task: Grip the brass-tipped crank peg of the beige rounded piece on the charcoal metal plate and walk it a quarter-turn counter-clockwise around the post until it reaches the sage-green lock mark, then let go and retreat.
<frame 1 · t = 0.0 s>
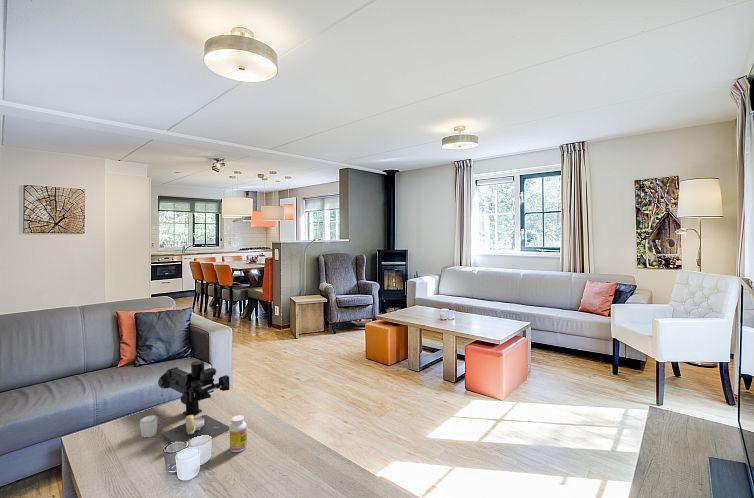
hand: (220, 392, 166), 17 cm above the table, tool horizontal, fingers open, 9 cm apart
shot glass: (149, 434, 163), on the table
beige rounded piece: (193, 420, 160), point 7 cm above the table, hinge at 0.0°
supplement bottle: (238, 448, 151), on the table
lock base: (196, 433, 163), on the table
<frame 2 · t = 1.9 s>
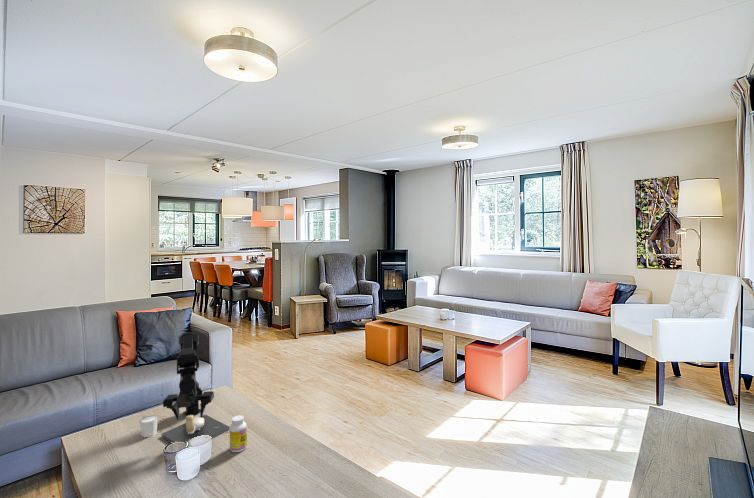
hand: (189, 418, 155), 10 cm above the table, tool pointing down, fingers open, 9 cm apart
nothing on the table moved.
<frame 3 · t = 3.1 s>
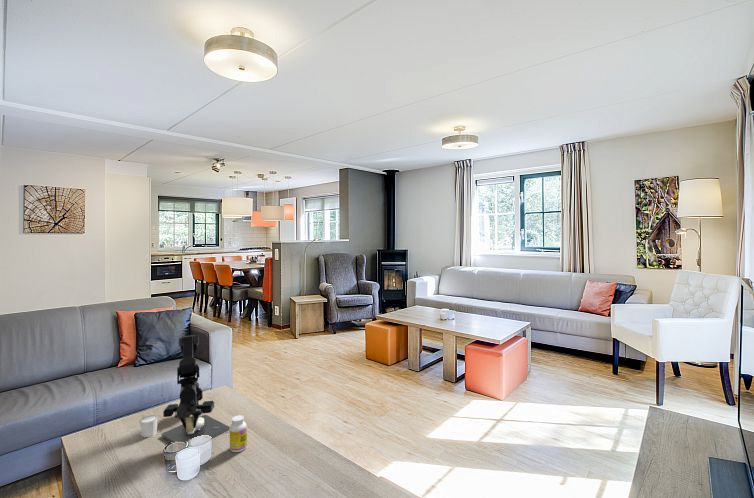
hand: (190, 428, 155), 6 cm above the table, tool pointing down, fingers closed on beige rounded piece, 3 cm apart
beige rounded piece: (193, 420, 160), point 7 cm above the table, hinge at 0.0°, touching gripper
everything else where it was.
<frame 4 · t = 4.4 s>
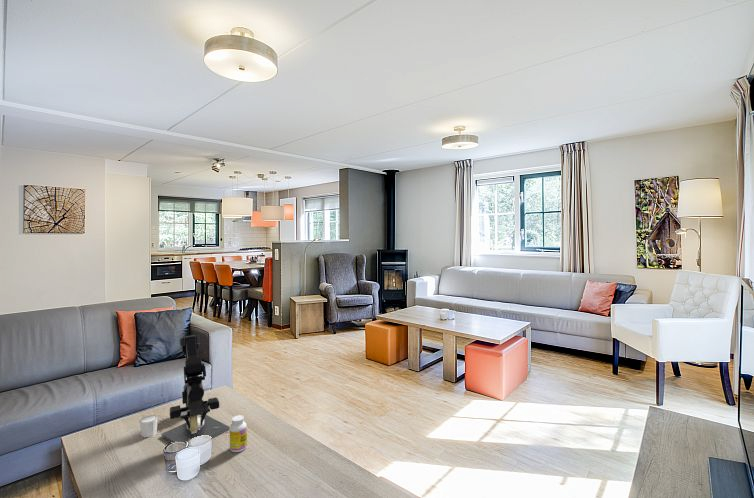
hand: (195, 427, 156), 6 cm above the table, tool pointing down, fingers open, 4 cm apart
beige rounded piece: (194, 419, 160), point 7 cm above the table, hinge at 11.4°, touching gripper
everything else where it was.
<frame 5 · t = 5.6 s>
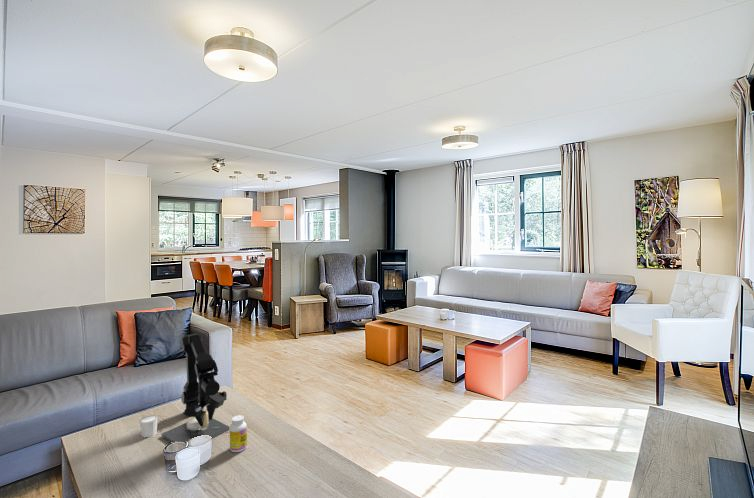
hand: (206, 422, 159), 6 cm above the table, tool pointing down, fingers open, 5 cm apart
beige rounded piece: (198, 418, 161), point 7 cm above the table, hinge at 48.1°, touching gripper
everything else where it was.
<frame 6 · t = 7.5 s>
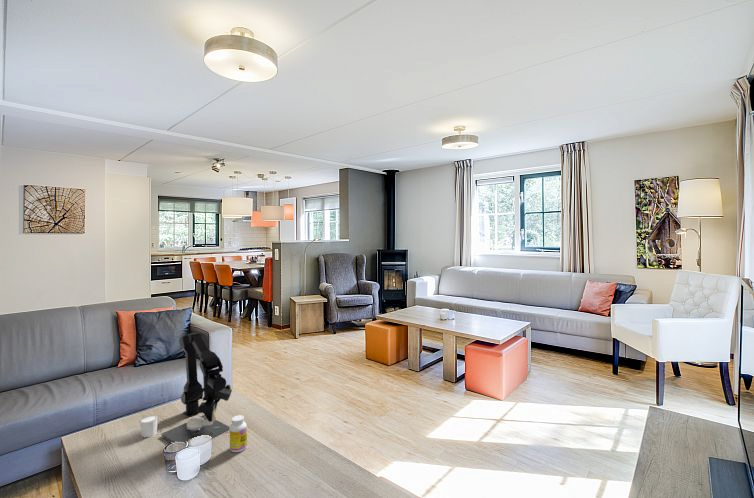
hand: (212, 418, 163), 6 cm above the table, tool pointing down, fingers open, 5 cm apart
beige rounded piece: (201, 416, 162), point 7 cm above the table, hinge at 88.0°
everything else where it was.
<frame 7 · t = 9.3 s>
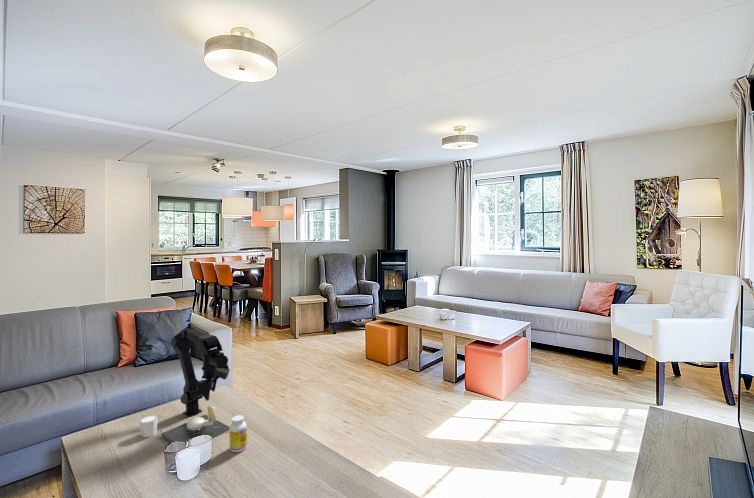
hand: (210, 395, 172), 13 cm above the table, tool pointing down, fingers open, 9 cm apart
nothing on the table moved.
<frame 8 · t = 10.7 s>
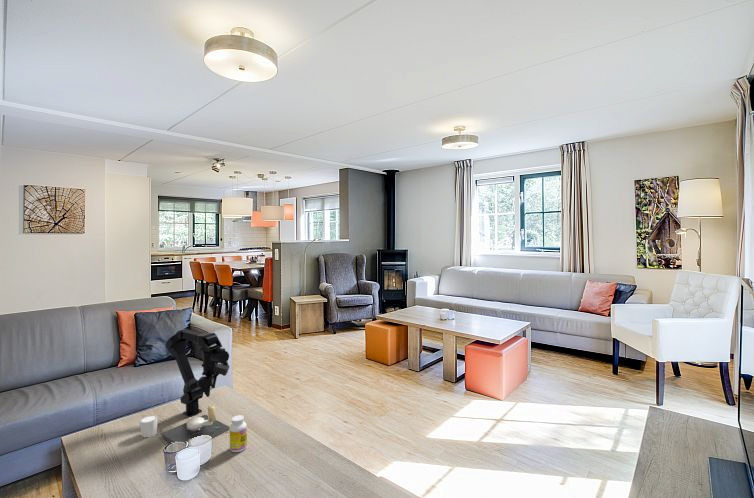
hand: (210, 392, 174), 13 cm above the table, tool pointing down, fingers open, 9 cm apart
nothing on the table moved.
at the end: beige rounded piece at +88° (first picture: +0°); the gripper is holding nothing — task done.
